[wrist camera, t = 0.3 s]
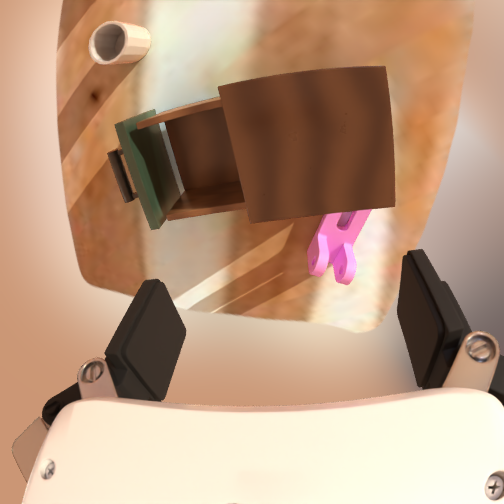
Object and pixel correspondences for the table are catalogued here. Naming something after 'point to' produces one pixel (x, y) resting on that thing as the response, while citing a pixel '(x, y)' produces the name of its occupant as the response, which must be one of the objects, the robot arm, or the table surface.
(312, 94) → the cabinet
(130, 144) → the drawer
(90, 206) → the table surface
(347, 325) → the table surface
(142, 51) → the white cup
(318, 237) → the bracket
